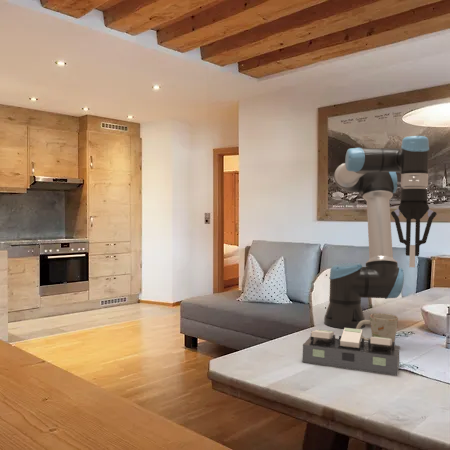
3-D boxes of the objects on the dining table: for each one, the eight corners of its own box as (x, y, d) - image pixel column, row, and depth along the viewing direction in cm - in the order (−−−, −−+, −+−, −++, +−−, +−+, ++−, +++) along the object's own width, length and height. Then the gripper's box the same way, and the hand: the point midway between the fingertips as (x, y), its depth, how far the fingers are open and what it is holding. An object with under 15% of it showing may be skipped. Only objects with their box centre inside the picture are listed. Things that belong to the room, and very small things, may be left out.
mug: (399, 352, 141) (400, 319, 141) (356, 349, 144) (357, 317, 144) (394, 345, 150) (395, 314, 149) (354, 342, 152) (355, 312, 152)
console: (311, 351, 140) (311, 328, 140) (399, 363, 130) (399, 338, 130) (302, 362, 130) (302, 337, 130) (397, 376, 120) (397, 348, 120)
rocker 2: (344, 332, 135) (344, 327, 134) (362, 334, 133) (362, 329, 133) (340, 345, 128) (340, 340, 127) (358, 348, 126) (358, 342, 125)
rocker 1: (317, 335, 138) (317, 329, 138) (334, 337, 136) (334, 331, 136) (311, 336, 131) (311, 330, 131) (329, 338, 129) (329, 332, 129)
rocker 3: (373, 342, 132) (373, 336, 132) (391, 344, 130) (392, 338, 130) (370, 343, 124) (370, 336, 125) (390, 345, 122) (390, 339, 123)
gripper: (390, 187, 138) (388, 266, 139) (438, 187, 133) (436, 269, 133) (391, 189, 145) (390, 264, 146) (437, 189, 140) (435, 266, 140)
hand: (412, 266), depth 139 cm, fingers closed
